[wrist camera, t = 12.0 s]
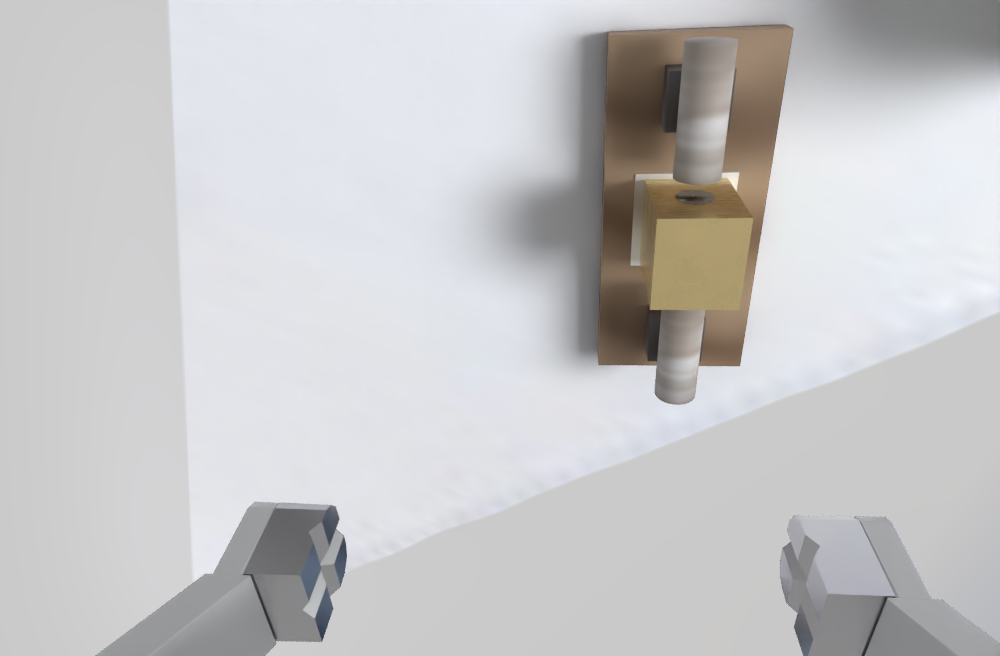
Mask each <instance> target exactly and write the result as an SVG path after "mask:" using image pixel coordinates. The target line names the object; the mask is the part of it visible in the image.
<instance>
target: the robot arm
mask: <svg viewBox="0 0 1000 656" xmlns="http://www.w3.org/2000/svg"><path fill="white" fill-rule="evenodd" d="M338 522H339V516H338V512H337V509H336V506H332V505H319V504H299V503H271V502H254V503H253V504H252V505H251V506H250V507H249V508H248V509H247V511H246V513H245V515H244V516H243V518H242V520H241V522H240V524H239V526H238V528H237V530H236V532H235V533H234V535H233V537H232V539H231V541H230V543H229V545H228V547H227V549H226V550H225V552H224V554H223V556H222V558H221V560H220V562H219V564H218V566H217V567H216V569H215V571H214V573H213V574H204V575H203V576H202V577H200V578H199V579H198V580H196V581H195V582H194V583H192V584H191V585H190V586H188V587H187V588H186V589H184V590H183V591H182V592H180V593H179V594H178V595H177V596H175V597H174V598H172V599H171V600H170V601H168V602H167V603H165V604H164V605H163V606H161V607H160V608H159V609H157V610H156V611H155V612H153V613H152V614H151V615H149V616H148V617H147V618H145V619H144V620H143V621H141V622H140V623H139V624H137V625H136V626H135V627H134V628H132V629H130V630H129V631H128V632H126V634H124V635H122V636H121V637H120V638H118V639H117V640H116V641H115V642H113V643H112V644H110V645H109V646H108V647H106V648H105V649H104V650H102V651H101V652H100V653H98V654H97V655H96V656H265V655H266V654H267V653H268V652H269V651H270V650H271V649H272V648H273V647H274V646H275V645H276V641H306V642H307V641H308V642H322V641H323V638H324V635H325V632H326V629H327V626H328V623H329V620H330V617H331V614H332V610H333V606H332V602H331V599H330V596H331V595H332V594H333V593H334V592H335V591H336V590H337V589H339V588H340V587H341V583H342V580H343V577H344V574H345V567H346V559H347V551H346V542H345V538H344V535H343V534H341V533H340V532H339V531H338V530H337V529H336V527H337V524H338ZM787 532H788V535H789V538H790V540H791V542H790V543H789V544H787V545H786V546H785V547H783V549H782V554H781V559H780V578H781V584H782V589H783V593H784V596H785V599H786V603H787V604H788V605H789V606H790V607H791V608H792V609H793V610H795V611H796V612H797V613H798V614H797V618H796V621H795V625H794V628H795V632H796V635H797V638H798V640H799V644H800V647H801V650H802V653H803V656H1000V643H999V642H998V641H996V640H995V639H994V638H992V637H991V636H990V635H988V634H987V633H986V632H984V631H983V630H982V629H980V628H979V627H977V626H976V625H975V624H974V623H973V622H971V621H970V620H968V619H967V618H966V617H965V616H963V615H962V614H960V613H959V612H958V611H957V610H955V609H954V608H953V607H951V606H950V605H949V604H947V603H946V602H945V601H943V600H939V599H932V597H931V595H930V593H929V591H928V589H927V587H926V586H925V584H924V582H923V580H922V578H921V576H920V574H919V572H918V571H917V569H916V567H915V565H914V563H913V561H912V559H911V558H910V556H909V554H908V552H907V550H906V548H905V547H904V544H903V543H902V541H901V539H900V537H899V535H898V533H897V531H896V530H895V528H894V526H893V524H892V522H891V521H890V520H889V519H887V518H886V517H860V516H859V517H857V516H855V517H852V516H804V515H794V516H793V517H792V518H791V520H790V521H789V525H788V529H787Z"/></svg>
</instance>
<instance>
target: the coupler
mask: <svg viewBox="0 0 1000 656" xmlns="http://www.w3.org/2000/svg"><path fill="white" fill-rule="evenodd" d="M752 224H753V216H752V215H751V213H750V212H749V210H748V209H747V207H746V206H745V204H744V202H743V201H742V199H741V198H740V196H739V195H738V193H737V192H736V190H735V188H734V187H733V185H732V184H731V182H730V181H729V179H728V178H721V180H720V181H719V182H717V183H714V184H709V185H689V184H684V183H680V182H677V181H675V180H674V179H645V187H644V203H643V218H642V234H641V249H640V265H641V270H642V274H643V279H644V284H645V288H646V293H647V298H648V302H649V307H650V310H739V309H740V303H741V296H742V290H743V283H744V277H745V270H746V264H747V257H748V251H749V244H750V237H751V231H752Z"/></svg>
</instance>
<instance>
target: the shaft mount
mask: <svg viewBox="0 0 1000 656" xmlns="http://www.w3.org/2000/svg"><path fill="white" fill-rule="evenodd" d="M792 35H793V28H792V27H790V26H787V25H762V26H737V27H711V28H686V29H661V30H636V31H610V32H608V35H607V68H606V100H605V133H604V165H603V197H602V230H601V262H600V295H599V327H598V364H599V365H657V368H656V380H655V395H656V396H657V397H658V398H659V399H660V400H662V401H664V402H666V403H669V404H676V405H680V404H686V403H689V402H691V401H692V400H693V399H694V397H695V391H696V383H697V375H698V367H699V366H740V362H741V356H742V349H743V343H744V337H745V331H746V324H747V318H748V312H749V305H750V299H751V293H752V287H753V280H754V274H755V268H756V261H757V255H758V249H759V242H760V236H761V230H762V224H763V217H764V211H765V205H766V198H767V192H768V186H769V180H770V173H771V167H772V161H773V154H774V148H775V142H776V135H777V129H778V123H779V117H780V110H781V104H782V98H783V91H784V85H785V79H786V73H787V66H788V60H789V54H790V47H791V41H792ZM721 178H728V179H729V181H730V182H731V184H732V185H733V187H734V188H735V190H736V192H737V193H738V195H739V196H740V198H741V199H742V201H743V202H744V204H745V206H746V207H747V209H748V210H749V212H750V213H751V215H752V216H753V224H752V231H751V237H750V244H749V251H748V257H747V264H746V270H745V277H744V283H743V290H742V296H741V303H740V309H739V310H650V307H649V302H648V298H647V293H646V288H645V284H644V279H643V274H642V270H641V265H640V249H641V234H642V218H643V203H644V187H645V179H674V180H675V181H677V182H680V183H684V184H689V185H709V184H714V183H717V182H719V181H720V180H721Z"/></svg>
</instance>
